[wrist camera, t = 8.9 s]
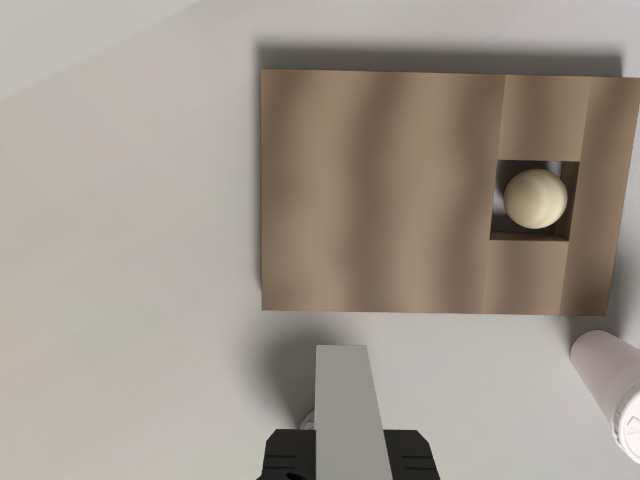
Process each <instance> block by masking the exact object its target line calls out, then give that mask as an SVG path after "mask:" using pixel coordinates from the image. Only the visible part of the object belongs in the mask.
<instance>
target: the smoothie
mask: <svg viewBox="0 0 640 480" xmlns="http://www.w3.org/2000/svg"><path fill="white" fill-rule="evenodd" d="M570 359H571V362H572V364H573V366H574V368H575V369H576V371H577V372H578V374H579V375H580V377H581V379H582V380H583V382H584V383H585V385H586V386H587V388H588V390H589V391H590V393H591V394H592V396H593V397H594V399H595V401H596V402H597V404H598V405H599V407H600V408H601V410H602V412H603V413H604V415H605V416H606V418H607V420H608V421H609V423H610V424H611V430H612V434H613V437H614V439H615V441H616V443H617V444H618V446H619V447H620V448H621V449H622V450H623V451H624V452H625V453H627V455H628V456H629V457H630V458H631V459H633V460H634V461H635V462H637V463H639V464H640V350H639V349H637V348H636V347H634V346H632V345H630V344H628V343H626V342H625V341H623V340H621V339H619V338H617V337H615V336H614V335H612V334H610V333H608V332H606V331H602V330H593V331H589V332H586V333H584V334H583V335H581V336H580V337H579V338H578V339H577V340H576V341H575V342H574V344H573V345H572V348H571V351H570Z"/></svg>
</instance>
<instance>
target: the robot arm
mask: <svg viewBox="0 0 640 480" xmlns="http://www.w3.org/2000/svg"><path fill="white" fill-rule="evenodd" d="M256 480H440V477H439V474H438V471H437V468H436V465H435V462H434V459H433V455H432V452H431V449H430V446H429V443H428V442H427V441H426V440H425V439H424V438H423V437H422V436H421V434H420V433H419V432H418V431H417V430H383V428H382V423H381V418H380V413H379V408H378V403H377V397H376V392H375V387H374V382H373V377H372V372H371V367H370V362H369V357H368V352H367V347H366V346H350V345H316V380H315V420H314V430H300V429H276V430H275V431H274V433H273V434H272V435H271V436H270V437H269V439H268V440H267V441H266V447H265V454H264V461H263V470H262V475H261V476H260V477H259V478H258V479H256Z"/></svg>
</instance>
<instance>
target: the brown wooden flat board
mask: <svg viewBox="0 0 640 480" xmlns="http://www.w3.org/2000/svg"><path fill="white" fill-rule="evenodd" d="M639 104H640V78H628V77H586V76H544V75H502V74H460V73H418V72H376V71H334V70H292V69H261V251H262V310H279V311H340V312H400V313H460V314H521V315H581V316H606V311H607V305H608V299H609V292H610V286H611V280H612V274H613V267H614V261H615V255H616V249H617V242H618V236H619V230H620V223H621V217H622V211H623V205H624V198H625V192H626V186H627V180H628V173H629V167H630V161H631V154H632V148H633V142H634V136H635V129H636V123H637V117H638V111H639ZM497 160H538V161H563V165H562V173H561V181H562V182H563V184H564V185H565V187H566V190H567V197H568V199H567V205H566V208H565V211H564V213H563V214H562V215H561V217H560V218H559V219H558V220H557V221H556V222H555V227H554V233H539V232H490V228H491V218H492V208H493V198H494V188H495V178H496V168H497Z"/></svg>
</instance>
